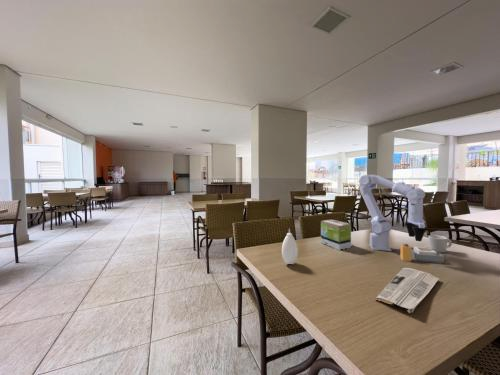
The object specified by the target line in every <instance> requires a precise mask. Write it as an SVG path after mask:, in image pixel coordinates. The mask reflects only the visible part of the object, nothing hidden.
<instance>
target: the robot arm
mask: <svg viewBox="0 0 500 375" xmlns="http://www.w3.org/2000/svg"><path fill="white" fill-rule="evenodd" d="M358 183H359V191H360V194H361V196H362V198H363V201H364V203H365V205H366V208H367V210H368V212H369V215H370V216H371V221H370V224H371V230H372V231H373V232H370V233H369V247H370V248H371V249H372V250H373V251H384V252H385V251H386V252H387V251H388V252H392V249H391V248H390V231H391V230H392V224H391V223H390V222H389V221H388V220H387V218H386V217H385V216H384V215H382V212H381V210H380V207H379V206H378V203H377V201H376V199H375V197H374V195H373V193H372V190H373V188H374V187H375V186H376V185H377V184H379V185H381V186H384V187H387V188H390V189H392V190H393V192H394V193H396V194H399V195H401V196H403V197H406V198H407V200H408V211H407V212H408V215H407V216H408V217H407V219H406V222H404V226H405V227H406V229H407V234H408V236H409V237H411V238H415V241H416V242H422V240H423V237H424V235H425V234H426V231H428V228H427V227H426V226H425V224H426V220H424V219H423V218H424V216H423V215H424V214H423V213H424V212H423V211H424V198H425V197H426V192H425V190H424V189H422V188H420V187H416V188H415V186H414V185H412V186H411V185H408V184H406V183H405V182H404V181H401V182H394V181H392V180H390V179H387V178H385V177H382V176H381V175H376V174H363V175H361V176H360V178H359V179H358Z"/></svg>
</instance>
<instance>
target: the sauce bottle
mask: <svg viewBox="0 0 500 375" xmlns="http://www.w3.org/2000/svg"><path fill="white" fill-rule="evenodd" d="M298 254H299V249H298V244H297V241H296V239H295V237H294V236H293V233H291V229H290V228H288V232H287V233H286V236H285V238H284V239H283V242H282V245H281V256H282V260H283V262H284V263H285V264H286V265H288V264H292V265H294V264H295V263H296V262H297V260H298V256H299V255H298Z"/></svg>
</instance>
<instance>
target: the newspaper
mask: <svg viewBox="0 0 500 375" xmlns="http://www.w3.org/2000/svg"><path fill="white" fill-rule="evenodd" d="M439 280H440V277H437V276H436V277H435V276H434V275H433V274H431V273H429V272H426V271H422V270H418V269H415V268H409V267H403V268H402V269H400V271H399V272H398V273H397V274H396V275H395V276H394V277H393V278H392V279H391V280H390V282H389V283H388V284H387V285H386V286H385V287H384V289H382V291H381V292H379V294H378V295H377V296H376V297H375V298H374V300H375V299H376V298H377V299H379V298H381V299H384V300H387V301H390V302H392V303H394V304H395V305H397V306H399V307H401V308H405V309H406V310H407V309H410V312H411V311H412V313H411V314H413V313H414V311H415V309H416V308H417V306H418V305H419V304H420V303H421V302H422V300H423V299H424V298H425V297H426V296H427V295H428V294H429V293H430V291H431V290H432V289H433V287H434V286H436V283H437V282H438V281H439ZM394 304H393V305H394Z"/></svg>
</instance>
